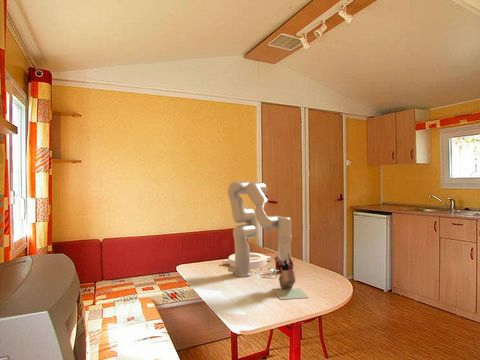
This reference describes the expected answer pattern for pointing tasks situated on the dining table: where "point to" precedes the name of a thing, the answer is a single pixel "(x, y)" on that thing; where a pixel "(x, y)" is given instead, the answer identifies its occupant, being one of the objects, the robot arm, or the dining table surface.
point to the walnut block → (287, 279)
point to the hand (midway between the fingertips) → (285, 272)
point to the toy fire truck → (279, 264)
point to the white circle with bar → (251, 260)
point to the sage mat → (290, 294)
